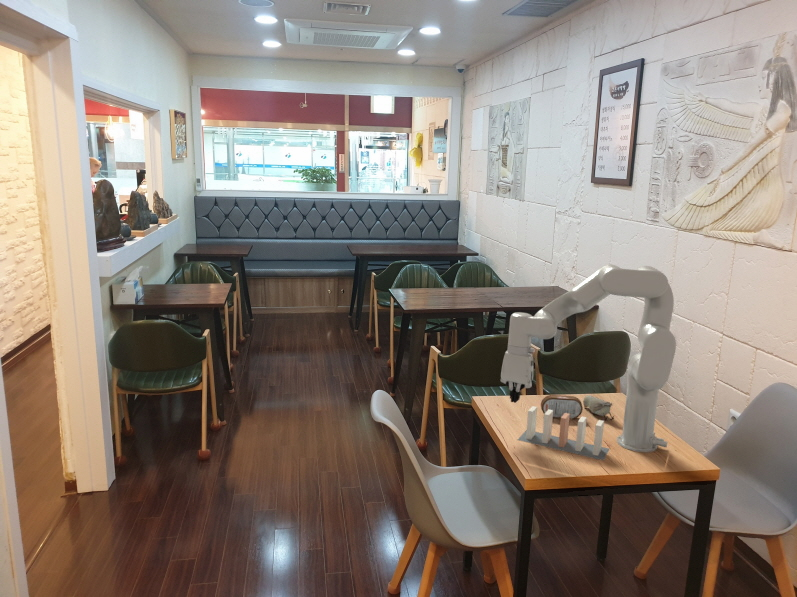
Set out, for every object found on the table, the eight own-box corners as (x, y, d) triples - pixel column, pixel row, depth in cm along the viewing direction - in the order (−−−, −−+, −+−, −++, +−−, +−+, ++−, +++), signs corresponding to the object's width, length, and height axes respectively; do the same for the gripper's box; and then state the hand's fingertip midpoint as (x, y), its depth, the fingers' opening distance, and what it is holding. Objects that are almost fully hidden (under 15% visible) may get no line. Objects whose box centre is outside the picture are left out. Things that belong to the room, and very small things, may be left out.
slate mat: (609, 449, 196) (609, 448, 196) (603, 461, 188) (603, 460, 188) (526, 430, 210) (526, 429, 210) (517, 440, 201) (517, 439, 201)
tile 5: (601, 449, 195) (604, 420, 193) (597, 455, 191) (600, 426, 189) (596, 448, 196) (598, 419, 194) (592, 454, 191) (595, 425, 190)
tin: (580, 417, 223) (582, 395, 222) (582, 420, 220) (584, 398, 219) (539, 414, 225) (541, 393, 223) (540, 418, 222) (542, 396, 220)
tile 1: (535, 434, 206) (537, 407, 204) (530, 439, 201) (532, 411, 199) (530, 433, 206) (532, 406, 204) (526, 438, 202) (528, 410, 200)
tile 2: (551, 438, 203) (553, 410, 201) (546, 443, 199) (549, 415, 197) (546, 437, 204) (548, 409, 202) (542, 442, 199) (544, 414, 198)
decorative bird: (590, 406, 235) (591, 388, 233) (616, 422, 220) (618, 403, 218) (578, 408, 233) (580, 389, 232) (604, 424, 218) (606, 404, 217)
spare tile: (558, 446, 197) (560, 417, 195) (562, 440, 201) (564, 412, 199) (563, 447, 196) (565, 418, 194) (567, 442, 200) (569, 413, 198)
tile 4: (584, 445, 198) (586, 417, 196) (580, 451, 193) (583, 422, 191) (579, 444, 198) (581, 416, 197) (575, 450, 194) (578, 421, 192)
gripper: (544, 351, 201) (539, 402, 204) (501, 343, 208) (497, 393, 211) (537, 356, 194) (532, 409, 198) (493, 348, 201) (489, 399, 205)
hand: (514, 401), depth 205 cm, fingers closed
